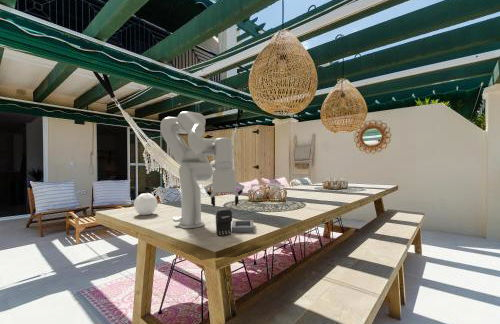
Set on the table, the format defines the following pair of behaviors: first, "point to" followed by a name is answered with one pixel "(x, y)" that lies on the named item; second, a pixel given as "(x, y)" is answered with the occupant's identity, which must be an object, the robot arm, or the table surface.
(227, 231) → the battery
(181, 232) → the table surface
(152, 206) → the geodesic sphere
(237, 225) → the dock
